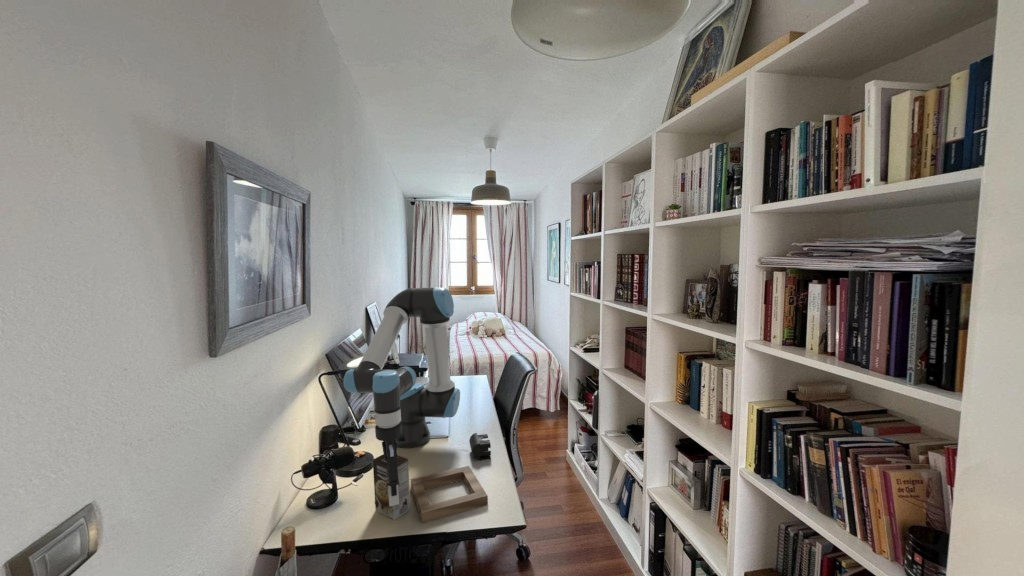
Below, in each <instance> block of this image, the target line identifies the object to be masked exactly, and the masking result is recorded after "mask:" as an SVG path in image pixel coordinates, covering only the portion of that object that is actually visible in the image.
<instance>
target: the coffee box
mask: <svg viewBox="0 0 1024 576" xmlns="http://www.w3.org/2000/svg"><path fill="white" fill-rule="evenodd" d="M372 468H373V470H372V471H373V472H372V473H373V485H374V487H373V488H374V489H373V490H374V504H375V505H374V507H375V508H374V509H375V511H376V512H378V513H380V514H382V515H384V516H386V517H387V518H389V519H391V520H394V521H395V520H396V519H398V518H400V517H401V516H403V515H404V514H406V513H408V512H409V511H410V510H411V498H410V476H409V475H410V474H409V473H410V472H409V471H410V470H409V458H407V457H405V456H401V455H399V454H397V469H398V481H399V485H398V491H399V504H398V505H394V506H389V491H388V486H386V484H388V483H389V480H388V469H387V461H386V460H385V456H384V453H383V454H381V455H379V456H377V457H374V458H373V459H372Z"/></svg>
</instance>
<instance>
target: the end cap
mask: <svg viewBox="0 0 1024 576" xmlns="http://www.w3.org/2000/svg"><path fill="white" fill-rule="evenodd" d="M488 438H489V435H488V434H487V433H486V434H484V433H483V434H478V432H475V433H473V434H472V435H470V437H469V440H468V441H469V446H470V450H471V455H472V456H473V458H475V460H476V459H477V460H478V461H485V460H491V459H492V457H491V455H492V451H491V450H489V449H491V448H492V447H491V446H492V444H491V440H490V439H488ZM486 439H487V440H486Z"/></svg>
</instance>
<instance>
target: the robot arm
mask: <svg viewBox="0 0 1024 576" xmlns="http://www.w3.org/2000/svg"><path fill="white" fill-rule="evenodd" d="M454 306H455V305H454V299H453V295H452V293H451V292H450V290H449V289H447V287H436V286H435V287H433V286H432V287H410V288H406V289H404V290H402V291H400V292H398V293H397V294H396V295H395V296H394V297H393V298H392V299H391V300H390V301H389V302H388V303H387V305H386V306H385V308H384V310H383V314H382V315H383V318H382V320H381V322H380V324H379V325H378V327H377V329H376V331H375V333H374V335H373V337H372V339H371V341H370V343H369V345H368V347H367V349H366V350H365V352H364V354H363V357H362V358H361V360H360V362H359V364H358V366H357V367H356V368H350V369H348V370H347V371H345V374H344V376H343V382H342V383H343V387H344V389H345V390H346V391H347V392H348V393H355V394H362V393H363V394H365V393H366V394H372V395H373V411H374V414H372V418H373V419H374V424H375V426H374V432H375V438H376V439H377V440H378V441H381V447H382V452H383V454H384V456H385V460H386V461H387V469H388V480H389V483H388V484H386V486H388V491H389V506H394V505H398V504H399V491H398V485H399V481H398V469H397V455H398V453H397V448H404V449H406V448H407V449H408V448H415V447H420V446H422V445H424V444H426V443H428V442H429V441H430V440H431V431H430V429H429V427H428V424H427V421H426V418H443V419H446V418H453V417H455V415H457V413H458V411H459V406H460V401H461V391H460V389H459V388H457V387H456V386H455V382H454V381H453V380H452V379H451V372H450V371H451V369H450V358H449V357H450V356H449V343H448V331H447V324H448V323H449V322H450V318H451V317H453V314H454V308H455V307H454ZM411 318H419V321H420V324H421V325H422V326H423V327H424V335H425V345H426V346H425V347H426V359H427V360H426V361H427V371H428V383H427V384H426V385H425V384H424V383H421V382H417V378H418V377H417V374H416V371H415V370H414V369H413V368H412V367H410V366H402V367H399V368H397V369H385V368H384V366H385V364H386V363H387V359H388V358H389V355H390V353H391V350H392V348H393V346H394V344H395V342H396V341H397V338H398V335H399V333H400V331H401V329H402V327H403V325H405V324H406V323H407V322H408V320H409V319H411ZM383 368H384V369H383Z"/></svg>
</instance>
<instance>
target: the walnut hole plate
mask: <svg viewBox="0 0 1024 576" xmlns="http://www.w3.org/2000/svg"><path fill="white" fill-rule="evenodd" d="M461 480H462V481H463V483H464V485H465V486H466V488H467V490H468V491H469V493H470V494H466V495H463V496H462V495H461V496H457V497H454V498H450V499H446V500H442V501H439V502H435V503H432V504H431V503H430V501H429V498H428V495H427V492H426V490H428V489H432V487H433V488H436V487H440V485H441V486H444V484H445V485H449V484H452V483H451V482H454V483H457V482H456V481H458V482H462V481H461ZM448 483H449V484H448ZM410 487H411V492H412V495H413V497H414V501H415V504H416V507H417V511H418V514H419V517H420V521H421V524H424V523H427V522H428V523H429V522H431V521H434V520H438V519H441V518H446V517H449V516H453V515H456V514H460V513H464V512H468V511H472V510H475V509H478V508H482V507H486V506H488V505H489V499H488V493H487V492H486V490H485V489H484V488H483V486H482V484H481V483H480V481H479V480H478V478H477V476H476V475H475V474H474V472H473V470H472V469H471V467H470V465H465V466H461V467H457V468H454V469H453V468H452V469H448V470H445V471H440V472H436V473H432V474H427V475H423V476H418V477H414V478H411V479H410Z"/></svg>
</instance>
